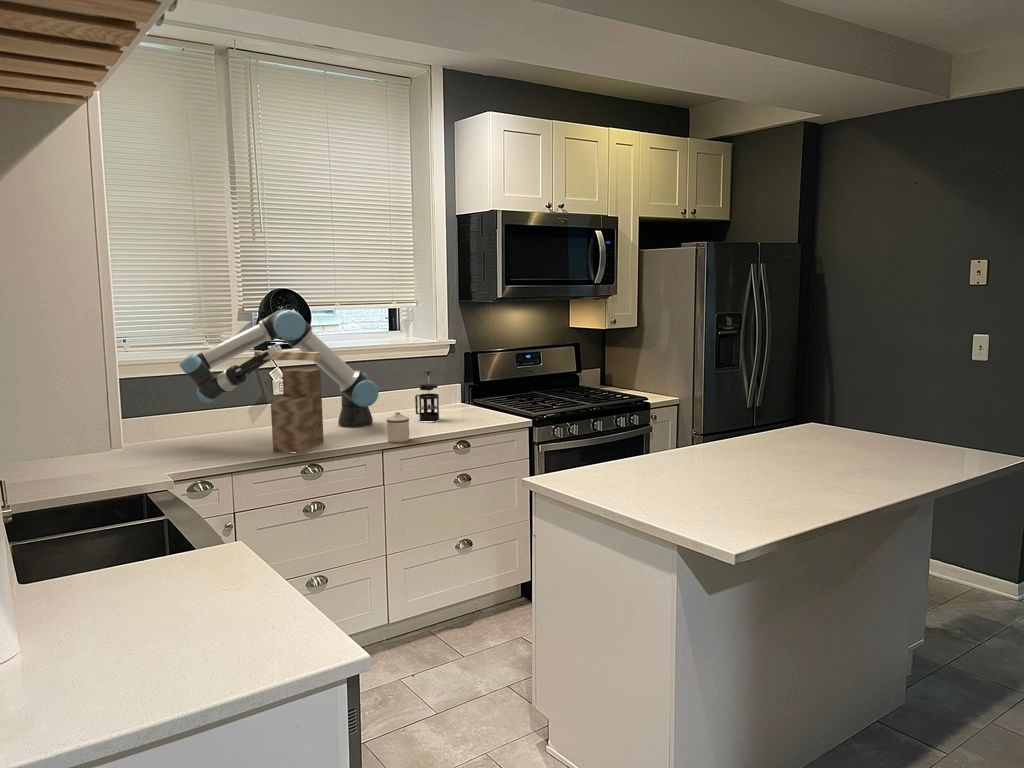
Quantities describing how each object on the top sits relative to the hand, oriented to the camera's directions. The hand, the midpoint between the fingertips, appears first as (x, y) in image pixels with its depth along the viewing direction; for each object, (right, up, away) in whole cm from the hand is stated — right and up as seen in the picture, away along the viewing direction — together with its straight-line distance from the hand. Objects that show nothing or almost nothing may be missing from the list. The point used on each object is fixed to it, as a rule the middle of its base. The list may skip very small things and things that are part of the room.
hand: (278, 348), depth 288 cm
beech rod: (+4, -4, 0) cm, 6 cm away
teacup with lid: (+43, -36, +16) cm, 59 cm away
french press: (+52, -31, +56) cm, 82 cm away
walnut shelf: (+7, -38, +3) cm, 39 cm away
